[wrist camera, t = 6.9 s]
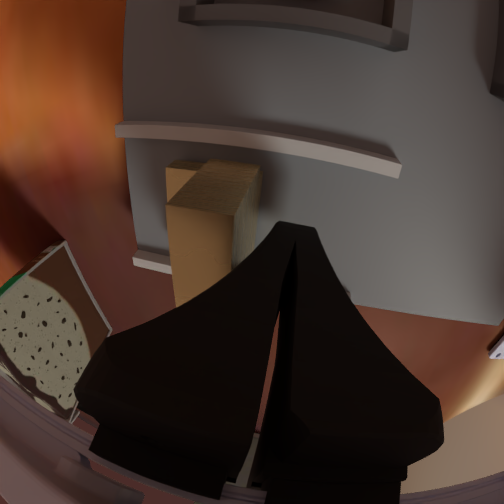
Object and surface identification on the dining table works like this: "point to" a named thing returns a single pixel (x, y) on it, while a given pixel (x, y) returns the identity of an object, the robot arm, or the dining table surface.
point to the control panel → (335, 134)
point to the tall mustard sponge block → (209, 221)
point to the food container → (49, 329)
